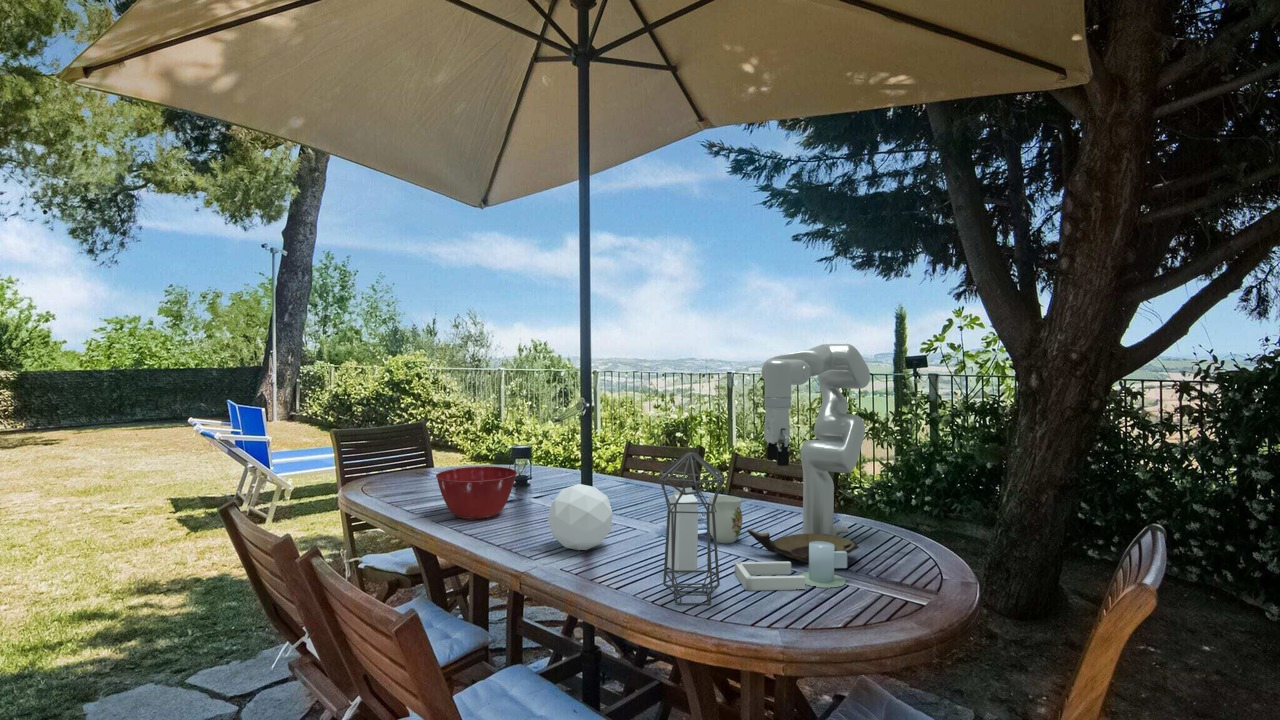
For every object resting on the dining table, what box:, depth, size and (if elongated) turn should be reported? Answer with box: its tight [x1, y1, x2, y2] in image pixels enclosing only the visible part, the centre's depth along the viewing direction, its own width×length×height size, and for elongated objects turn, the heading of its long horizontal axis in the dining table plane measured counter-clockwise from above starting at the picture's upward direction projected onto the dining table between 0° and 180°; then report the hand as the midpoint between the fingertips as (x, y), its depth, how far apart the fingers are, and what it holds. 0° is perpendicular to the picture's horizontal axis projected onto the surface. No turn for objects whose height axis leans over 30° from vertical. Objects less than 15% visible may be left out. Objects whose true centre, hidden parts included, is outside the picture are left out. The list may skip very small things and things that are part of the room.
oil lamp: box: [746, 528, 860, 563], centre depth 191 cm, size 22×30×8 cm
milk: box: [667, 487, 699, 574], centre depth 179 cm, size 6×6×22 cm
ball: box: [547, 483, 614, 551], centre depth 198 cm, size 19×20×20 cm
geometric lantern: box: [658, 451, 727, 606], centre depth 158 cm, size 16×16×35 cm
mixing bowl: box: [435, 466, 518, 520], centre depth 237 cm, size 28×28×16 cm
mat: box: [797, 571, 846, 589], centre depth 171 cm, size 12×12×1 cm
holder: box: [734, 561, 806, 592], centre depth 170 cm, size 15×13×3 cm
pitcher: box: [708, 495, 743, 544], centre depth 209 cm, size 11×18×14 cm, turn 148°
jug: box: [808, 541, 848, 583], centre depth 171 cm, size 10×6×9 cm, turn 94°
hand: (777, 462), depth 189 cm, fingers open, 9 cm apart
